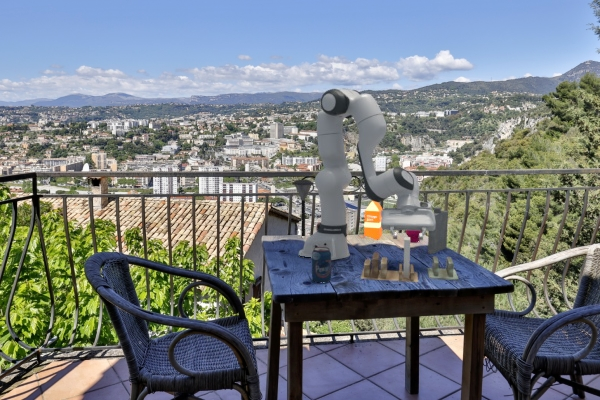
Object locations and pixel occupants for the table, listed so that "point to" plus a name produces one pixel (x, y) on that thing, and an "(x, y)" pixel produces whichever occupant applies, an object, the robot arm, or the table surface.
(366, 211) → the orange juice
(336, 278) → the table surface
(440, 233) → the hip flask
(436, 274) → the stand
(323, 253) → the soda can
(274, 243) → the table surface
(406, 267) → the light grey flat bar
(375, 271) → the rack
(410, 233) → the pepper mill
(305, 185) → the solar garden light
